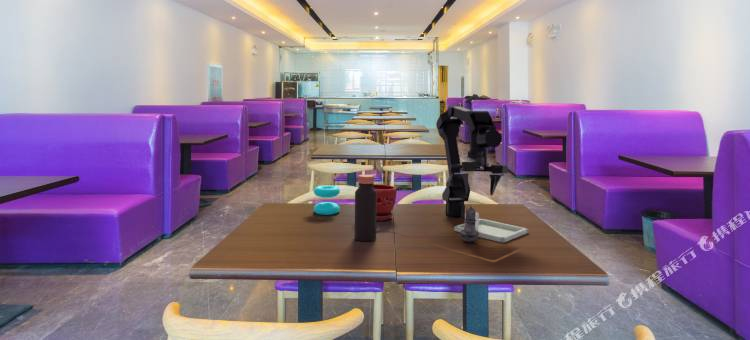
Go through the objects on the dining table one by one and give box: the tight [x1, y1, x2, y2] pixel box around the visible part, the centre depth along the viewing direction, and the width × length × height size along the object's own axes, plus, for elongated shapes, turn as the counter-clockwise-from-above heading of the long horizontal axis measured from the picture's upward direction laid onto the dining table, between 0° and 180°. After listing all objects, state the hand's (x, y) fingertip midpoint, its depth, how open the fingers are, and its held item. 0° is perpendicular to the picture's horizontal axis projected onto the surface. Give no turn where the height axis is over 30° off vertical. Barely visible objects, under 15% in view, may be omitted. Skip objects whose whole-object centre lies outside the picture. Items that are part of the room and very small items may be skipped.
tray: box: [453, 218, 529, 244], centre depth 151 cm, size 18×16×2 cm
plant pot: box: [373, 183, 397, 222], centre depth 168 cm, size 13×13×12 cm
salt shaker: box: [459, 205, 480, 244], centre depth 138 cm, size 6×6×12 cm
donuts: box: [313, 184, 341, 216], centre depth 175 cm, size 10×10×10 cm
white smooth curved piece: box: [464, 211, 480, 231], centre depth 151 cm, size 4×4×6 cm
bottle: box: [354, 174, 377, 243], centre depth 141 cm, size 7×7×20 cm
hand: (478, 194), depth 153 cm, fingers open, 9 cm apart
